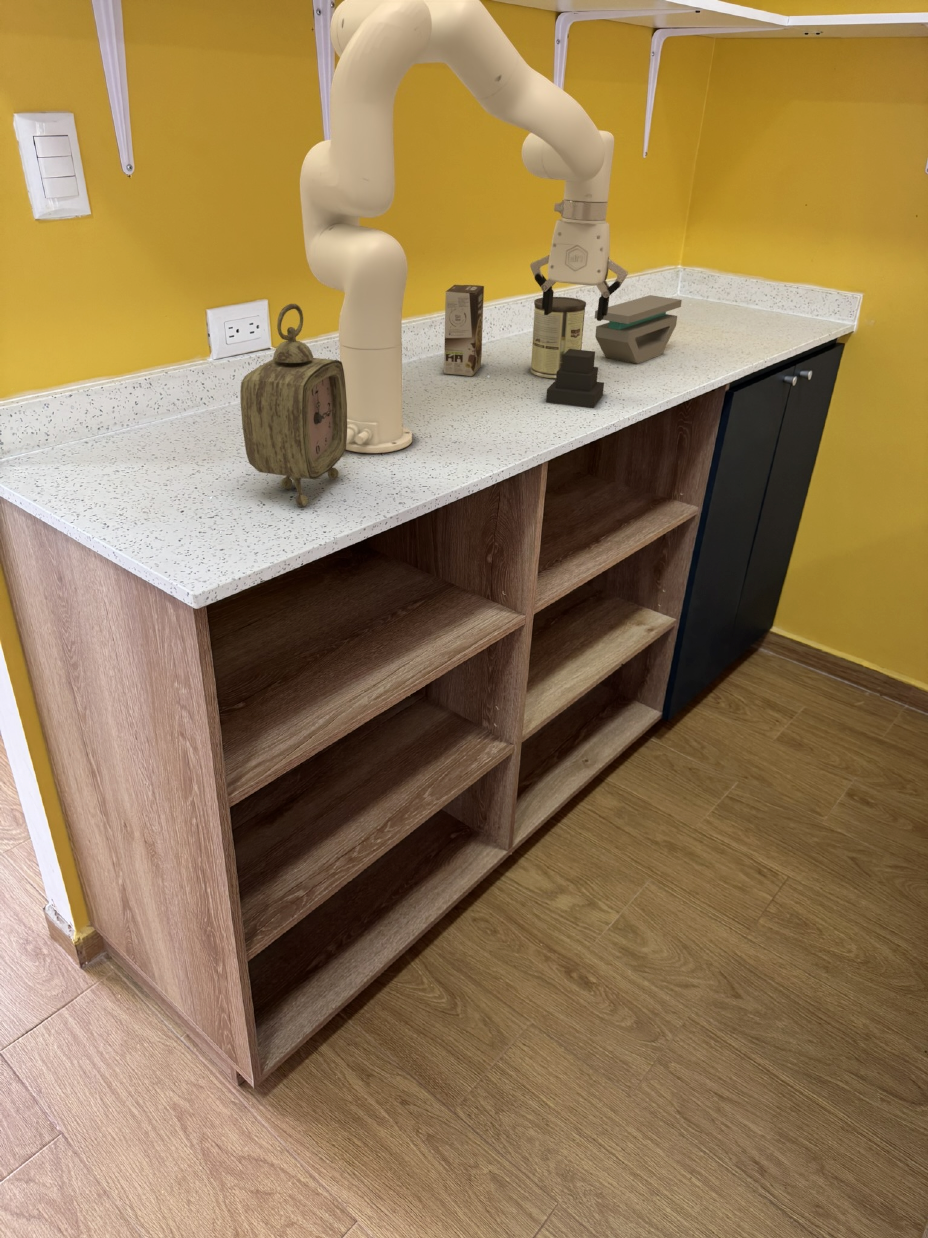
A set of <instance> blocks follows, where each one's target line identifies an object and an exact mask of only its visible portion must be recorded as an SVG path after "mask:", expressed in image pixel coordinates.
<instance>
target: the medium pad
mask: <svg viewBox="0 0 928 1238" xmlns="http://www.w3.org/2000/svg"><path fill="white" fill-rule="evenodd" d="M598 373H599V367H598V366H594V368H593V369H592V370H591V371H590V372H589V374H584V373H575V372H566V371H562V367H561V368H560V369H559V370H558V371H557V373H556V378H555V380H556V386H555V388H561V389H570V390H578V391H587V392H590V391H591V390H592V388H593V387H594V386H595V384H596V383H597V382H598V375H599V374H598Z"/></svg>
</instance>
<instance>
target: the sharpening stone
mask: <svg viewBox="0 0 928 1238" xmlns="http://www.w3.org/2000/svg"><path fill="white" fill-rule="evenodd" d="M682 302H683V300H682V299H678V298H674V297H673V298H672V297H665V296H659V295H653V294H652V295H651V294H649V295H646V296H643V297H638V298H636V299H635V298H634V299H632V300H628V301H624V302H621V303H617V304H614V305H611V306H608V312H607V316H604V318H603V319H602V320H601V321H606V323H603V324H600V325H596V326H595V336H594V337H595V339H596V342H597V343H598V346H599V347H600V349H601V351H602V354H603V355H604V357H605V358H606V359H609V360H610V359H611V360H616V361H620V362H626V363H631V364H636V365H638V364H641V363H643V362H644V363H645V362H646V361H649V360H652V359H654V358H656V357H659V356H661V355H662V354H663V352H664V351H665V349H666V346H667V345H668V343H669V340H670V338H671V336H672V334H673V332H674V331H675V329H676V327H677V323H678V321H677V320H678V315H675V314H670V313H669V314H668V313H667V312H670V311H672V310H676V309H679V308H681V307H682ZM597 312H598V309H596V310H595V311H594V319H596V320H597ZM607 321H608V322H607Z"/></svg>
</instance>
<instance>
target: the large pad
mask: <svg viewBox="0 0 928 1238" xmlns="http://www.w3.org/2000/svg"><path fill="white" fill-rule="evenodd" d="M555 386H556V379H555V380H554V381H553V382H552V383H551V384H550V385H549V386H548V387H547V389H546V393H545V394H546V395H545V402H546V403H549V404H556V405H557V404H558V405H564V406H574V407H582V408H583V407H584V408H589V409H590V408H591V409H594V408H595V406H596V405H597V404H598V402H599V401H600V400H601V398H602V397H603V396H604V387H605V382H603V381H597V383H596V384H595V386H594V387H593V388H592V390H591V391H590V392H587V391H578V390H570V389H561V388H555Z"/></svg>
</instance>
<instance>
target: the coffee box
mask: <svg viewBox="0 0 928 1238" xmlns="http://www.w3.org/2000/svg"><path fill="white" fill-rule="evenodd" d="M484 295H485V285H478V284H476V285H475V284H453V285H452V286H451V287H450V288H447V290H445V302H444V303H445V304H444V305H445V306H444V348H443V349H444V354H443V355H444V356H443V358H444V360H443V374H444V375H456V376H457V375H458V376H467V377H473V376H475V374H476V373H477V372H478V370H479V369H480V368H481V367H482V357H483V356H482V354H483V353H482V352H483V324H484V297H485V296H484Z"/></svg>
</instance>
